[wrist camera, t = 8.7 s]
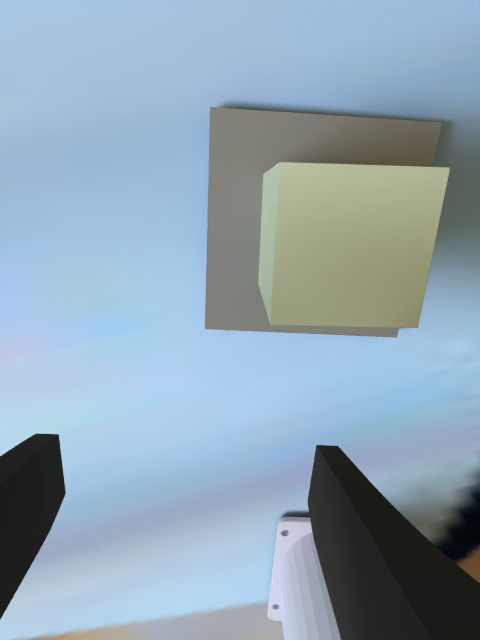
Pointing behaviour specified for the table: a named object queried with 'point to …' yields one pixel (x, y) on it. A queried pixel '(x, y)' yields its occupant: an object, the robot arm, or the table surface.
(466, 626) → the robot arm
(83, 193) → the table surface
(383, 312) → the block
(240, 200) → the coaster
